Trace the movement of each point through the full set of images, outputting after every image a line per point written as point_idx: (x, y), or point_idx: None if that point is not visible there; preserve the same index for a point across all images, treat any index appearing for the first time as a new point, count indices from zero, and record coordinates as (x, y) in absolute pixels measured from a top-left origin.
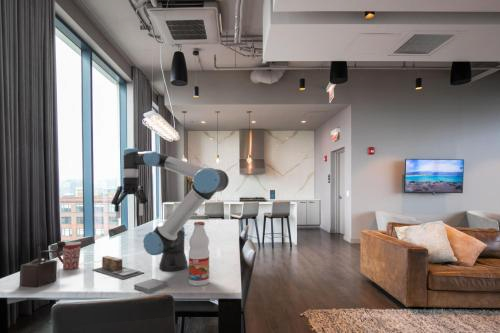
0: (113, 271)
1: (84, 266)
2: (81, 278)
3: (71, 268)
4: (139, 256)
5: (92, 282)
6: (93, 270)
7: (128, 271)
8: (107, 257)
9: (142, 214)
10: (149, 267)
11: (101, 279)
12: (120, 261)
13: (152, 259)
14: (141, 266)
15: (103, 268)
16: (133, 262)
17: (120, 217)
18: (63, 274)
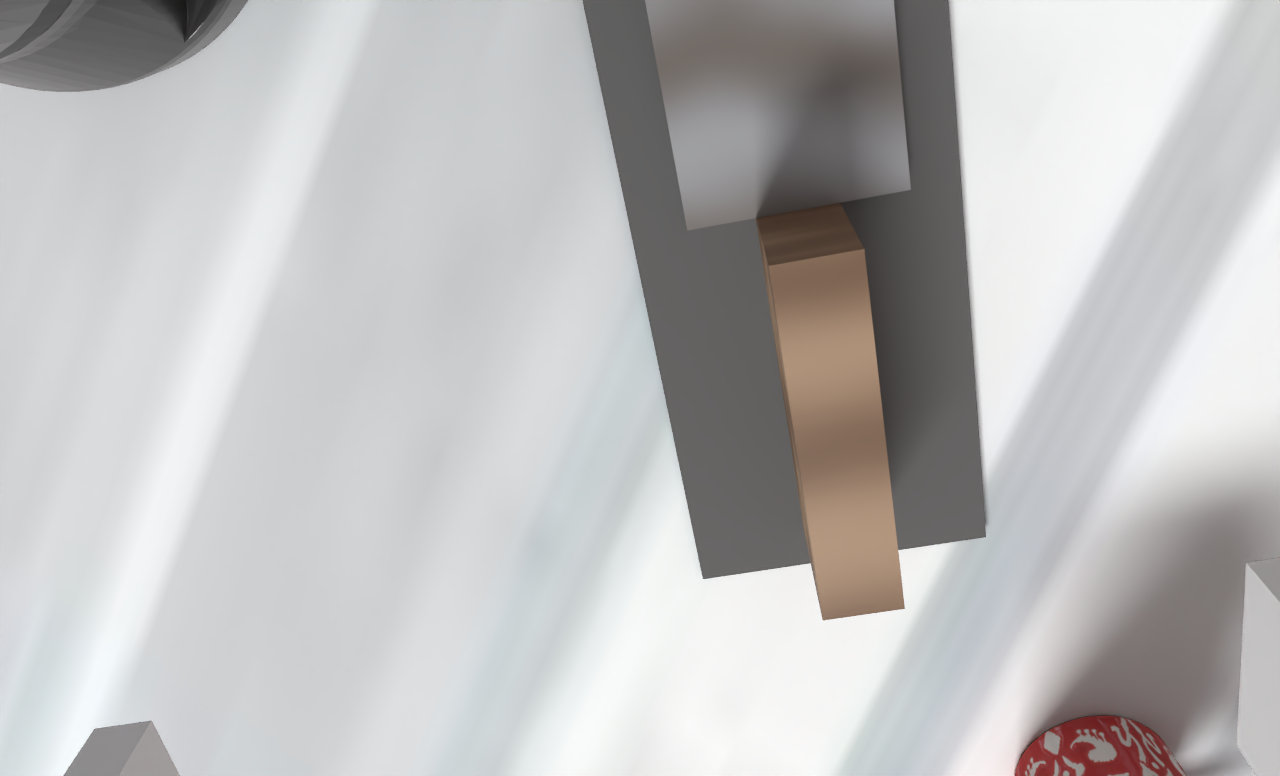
0: None
1: (964, 736)
2: (1237, 292)
3: (1122, 722)
4: (292, 722)
5: (1252, 6)
6: (981, 510)
7: (741, 36)
8: (871, 531)
9: (108, 762)
10: (372, 127)
11: (1109, 54)
12: (799, 250)
13: (194, 484)
14: (446, 263)
15: None
16: (458, 520)
17: (1259, 577)
18: None
